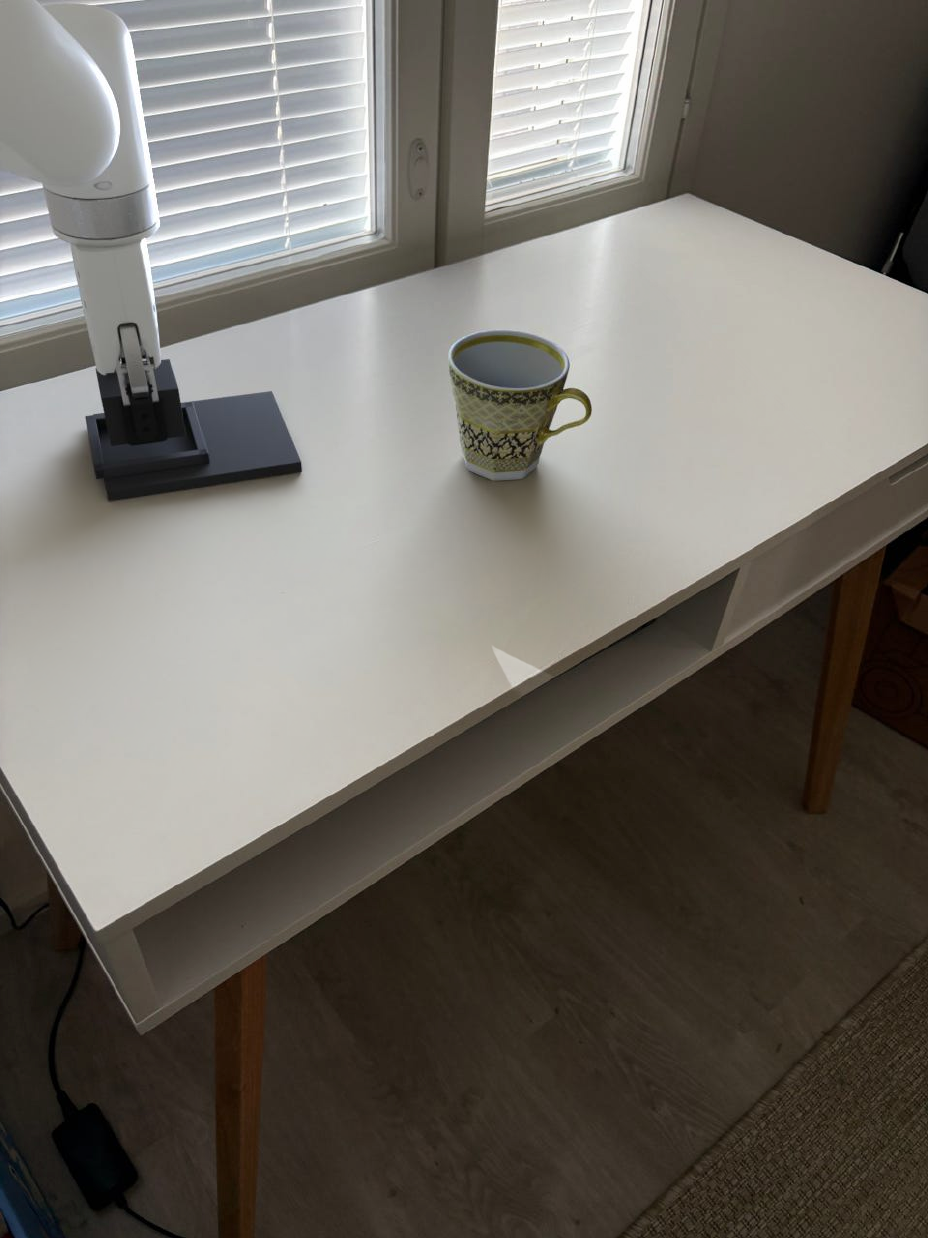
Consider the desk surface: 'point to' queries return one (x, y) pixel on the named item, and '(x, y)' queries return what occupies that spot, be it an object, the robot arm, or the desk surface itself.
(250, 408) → the base pad
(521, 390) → the ceramic cup
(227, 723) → the desk surface
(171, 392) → the dark grey block
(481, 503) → the desk surface
